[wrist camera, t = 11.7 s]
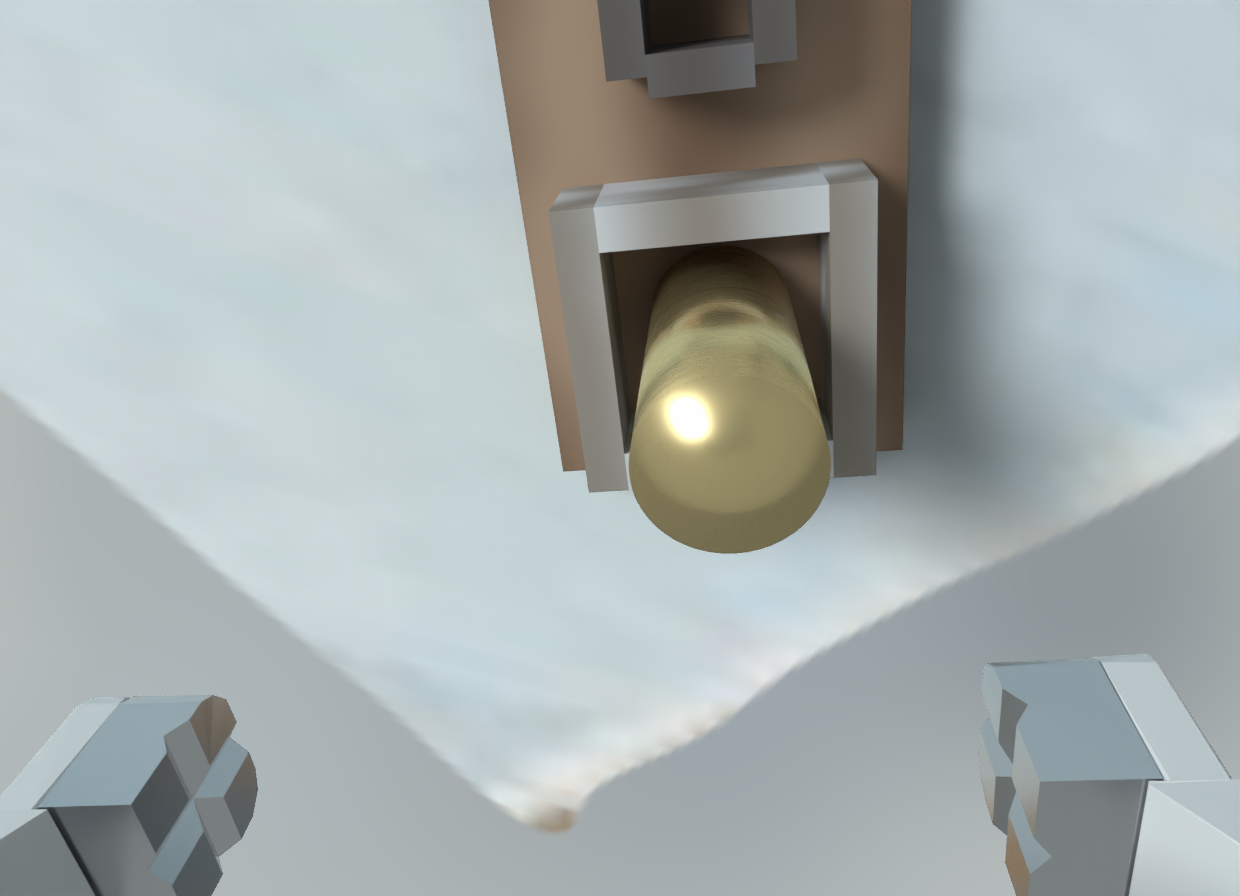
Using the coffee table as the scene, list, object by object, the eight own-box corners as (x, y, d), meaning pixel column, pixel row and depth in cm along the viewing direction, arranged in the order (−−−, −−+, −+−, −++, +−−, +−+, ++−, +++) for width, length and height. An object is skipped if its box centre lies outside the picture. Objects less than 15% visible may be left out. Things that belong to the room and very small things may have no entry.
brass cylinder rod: (788, 238, 28) (829, 368, 19) (793, 372, 29) (832, 548, 21) (645, 252, 28) (617, 384, 19) (658, 382, 30) (639, 558, 21)
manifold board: (900, -264, 24) (946, -318, 19) (891, 423, 32) (921, 496, 28) (472, -199, 25) (422, -235, 21) (570, 444, 33) (550, 517, 29)
